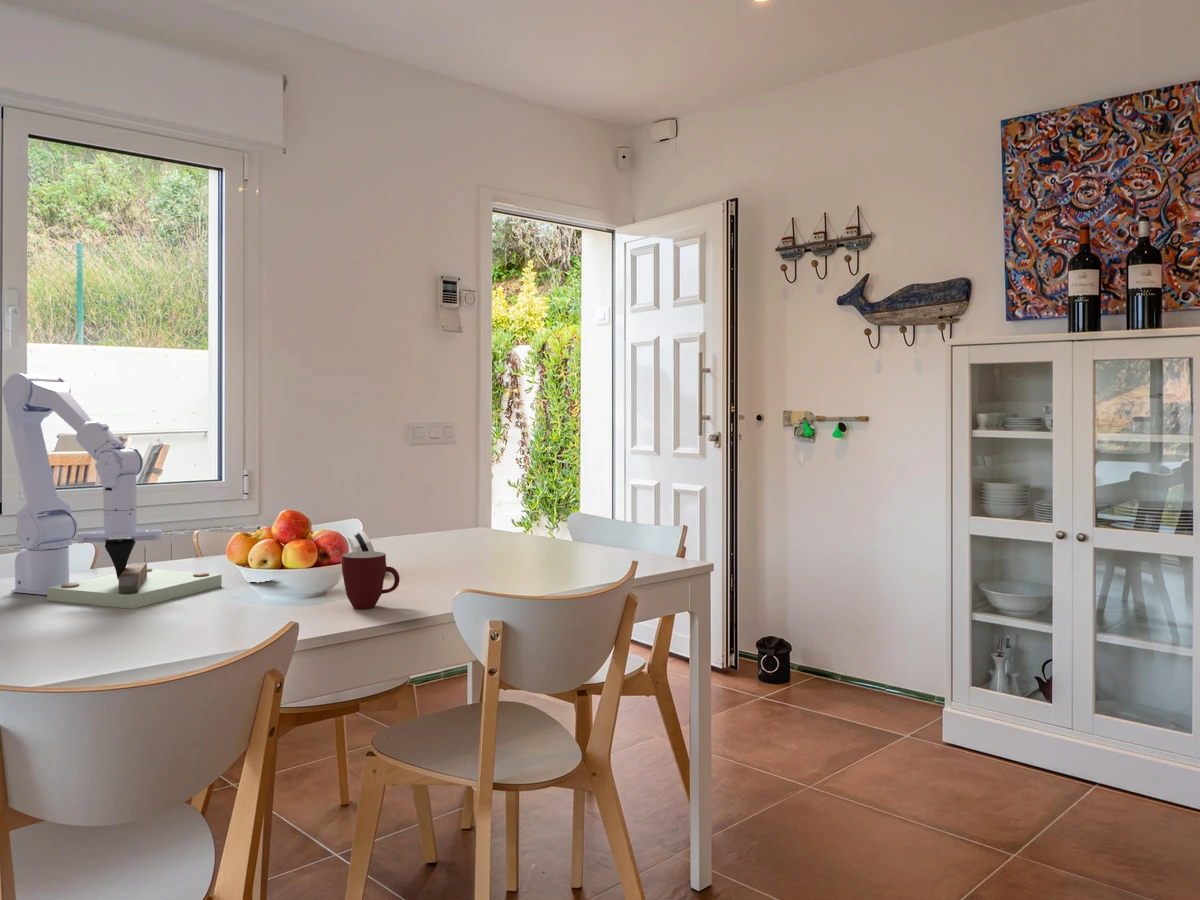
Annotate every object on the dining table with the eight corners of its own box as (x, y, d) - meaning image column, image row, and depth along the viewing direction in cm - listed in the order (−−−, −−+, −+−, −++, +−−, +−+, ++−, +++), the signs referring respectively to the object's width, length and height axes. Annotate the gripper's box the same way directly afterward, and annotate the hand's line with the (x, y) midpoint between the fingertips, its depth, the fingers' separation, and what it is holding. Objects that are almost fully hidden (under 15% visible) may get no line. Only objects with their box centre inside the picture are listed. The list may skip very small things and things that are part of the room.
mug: (395, 600, 172) (395, 549, 172) (402, 608, 165) (402, 556, 164) (339, 604, 168) (339, 552, 168) (344, 613, 161) (344, 559, 160)
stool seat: (47, 600, 169) (46, 586, 169) (142, 579, 191) (142, 567, 191) (132, 608, 163) (132, 593, 162) (221, 586, 184) (221, 573, 184)
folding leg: (136, 592, 164) (136, 577, 164) (117, 594, 163) (117, 578, 162) (147, 576, 180) (147, 562, 180) (129, 577, 179) (129, 563, 179)
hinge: (388, 574, 200) (373, 533, 199) (368, 582, 199) (353, 541, 197) (377, 562, 216) (363, 525, 214) (359, 570, 214) (344, 532, 212)
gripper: (73, 512, 166) (75, 583, 167) (159, 510, 171) (159, 579, 172) (80, 509, 173) (81, 577, 173) (162, 506, 178) (163, 573, 178)
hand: (121, 578), depth 173 cm, fingers closed
